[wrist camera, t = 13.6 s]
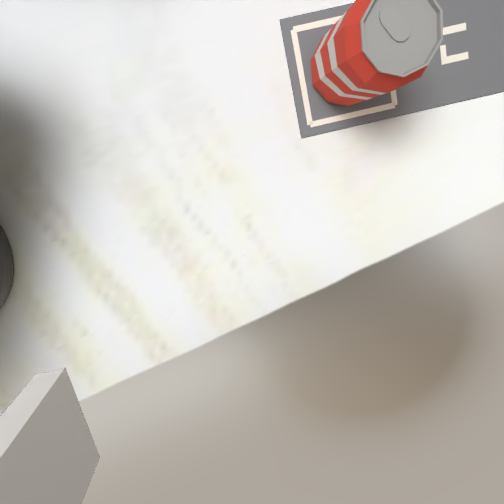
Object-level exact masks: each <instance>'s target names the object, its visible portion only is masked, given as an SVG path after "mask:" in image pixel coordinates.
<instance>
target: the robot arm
mask: <svg viewBox="0 0 504 504" xmlns="http://www.w3.org/2000/svg"><path fill="white" fill-rule="evenodd" d="M12 280H13V257H12V252H11V248H10V245H9V242H8V239H7V237H6V235H5V233H4V231H3V229H2V227H1V226H0V308H1V306H2V305H3V303H4V302H5V300H6V298H7V296H8V294H9V291H10V288H11V285H12ZM99 458H100V456H99V454H98V451H97V449H96V446H95V443H94V441H93V438H92V436H91V433H90V430H89V428H88V425H87V422H86V420H85V418H84V415H83V412H82V410H81V407H80V404H79V402H78V399H77V397H76V394H75V391H74V389H73V386H72V384H71V381H70V378H69V376H68V373H67V371H66V368H61V369H57V370H53V371H49V372H44V373H40V374H36V375H35V376H34V377H33V378H32V379H31V380H30V382H29V383H28V384H27V385H26V386H25V388H24V389H23V390H22V391H21V392H20V394H19V395H18V396H17V397H16V398H15V400H14V401H13V402H12V403H11V404H10V406H9V407H8V408H7V409H6V411H5V412H4V413H3V414H2V415H1V417H0V504H82V501H83V499H84V496H85V494H86V491H87V488H88V486H89V483H90V481H91V478H92V476H93V473H94V471H95V468H96V466H97V463H98V461H99Z"/></svg>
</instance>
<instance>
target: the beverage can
mask: <svg viewBox="0 0 504 504" xmlns="http://www.w3.org/2000/svg"><path fill="white" fill-rule="evenodd" d="M442 41H443V10H442V8H441V7H440V6H439V4H438V3H437V1H436V0H356V1H355V2H354V3H353V4H352V6H351V7H350V8H349V9H348V10H347V11H346V12H345V13H344V14H343V16H342V17H341V18H340V19H339V20H338V21H337V22H336V23H335V24H334V25H333V27H332V28H331V29H330V30H329V31H328V32H327V33H326V34H325V35H324V37H323V38H322V39H321V41H320V43H319V45H318V47H317V49H316V51H315V53H314V54H313V56H312V58H311V60H310V61H311V72H312V83H313V86H314V87H315V88H316V89H317V90H318V91H319V93H320V94H321V95H322V96H323V97H324V99H325V100H326V101H327V102H330V103H335V104H340V105H345V106H351V105H354V104H356V103H359V102H362V101H365V100H368V99H371V98H374V97H377V96H379V95H382V94H385V93H388V92H391V91H394V90H396V89H398V88H400V87H402V86H404V85H406V84H408V83H410V82H412V81H414V80H416V79H418V78H420V77H421V76H422V75H423V73H424V71H425V70H426V68H427V66H428V65H429V63H430V61H431V59H432V58H433V56H434V54H435V53H436V51H437V49H438V47H439V46H440V44H441V42H442Z"/></svg>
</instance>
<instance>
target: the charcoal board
mask: <svg viewBox="0 0 504 504" xmlns="http://www.w3.org/2000/svg"><path fill="white" fill-rule="evenodd" d="M436 1H437V3H438V4H439V6H440V7H441V8H442V10H443V41H442V42H441V44H440V46H439V47H438V49H437V51H436V53H435V54H434V56H433V58H432V59H431V61H430V63H429V65H428V66H427V68H426V70H425V71H424V73H423V75H422V76H421V77H420V78H418V79H416V80H414V81H412V82H410V83H408V84H406V85H404V86H402V87H400V88H398V89H396V90H394V91H391V92H388V93H385V94H382V95H379V96H377V97H374V98H371V99H368V100H365V101H362V102H359V103H356V104H354V105H351V106H345V105H340V104H335V103H330V102H327V101H326V100H325V99H324V97H323V96H322V95H321V94H320V93H319V91H318V90H317V89H316V88H315V87H314V86H313V83H312V72H311V61H310V60H311V58H312V56H313V54H314V53H315V51H316V49H317V47H318V45H319V43H320V41H321V39H322V38H323V37H324V35H325V34H326V33H327V32H328V31H329V30H330V29H331V28H332V27H333V25H334V24H335V23H336V22H337V21H338V20H339V19H340V18H341V17H342V16H343V14H344V13H345V12H346V11H347V10H348V9H349V8H350V7H351V6H352V4H353V3H351V4H347V5H343V6H338V7H334V8H329V9H325V10H320V11H316V12H312V13H307V14H303V15H298V16H294V17H289V18H285V19H280V25H281V30H282V36H283V41H284V47H285V52H286V57H287V63H288V68H289V74H290V79H291V85H292V90H293V95H294V101H295V106H296V112H297V117H298V123H299V128H300V134H301V138H305V137H309V136H314V135H318V134H322V133H326V132H331V131H335V130H339V129H344V128H348V127H352V126H357V125H361V124H365V123H370V122H374V121H378V120H383V119H387V118H391V117H396V116H400V115H404V114H409V113H413V112H417V111H422V110H426V109H430V108H435V107H439V106H443V105H448V104H452V103H456V102H461V101H465V100H469V99H474V98H478V97H482V96H487V95H491V94H495V93H500V92H504V0H436Z"/></svg>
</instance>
